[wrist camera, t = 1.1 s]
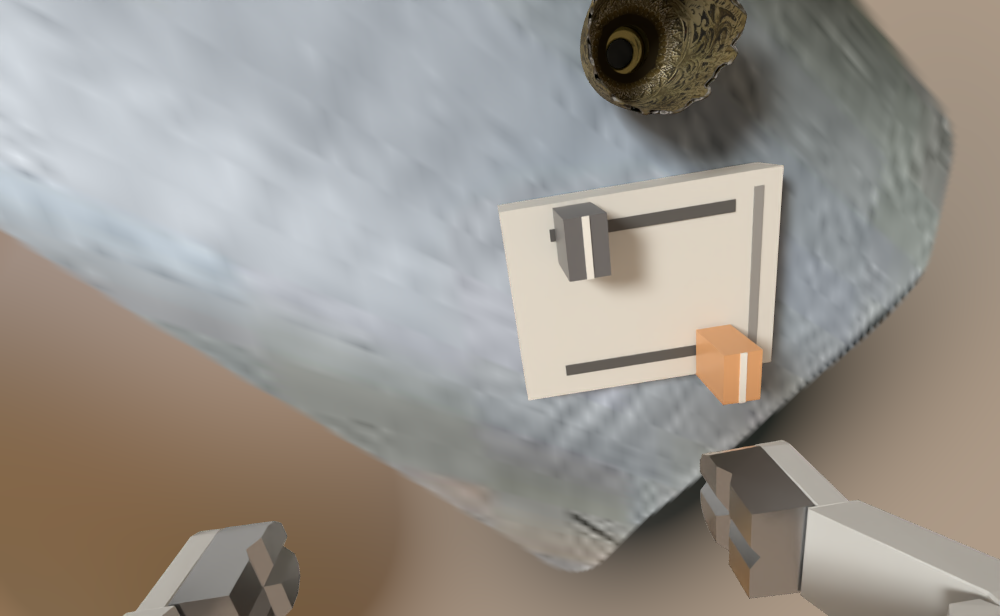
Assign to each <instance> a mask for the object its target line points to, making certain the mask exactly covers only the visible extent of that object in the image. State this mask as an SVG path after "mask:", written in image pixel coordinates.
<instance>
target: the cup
mask: <svg viewBox="0 0 1000 616" xmlns="http://www.w3.org/2000/svg"><path fill="white" fill-rule="evenodd" d="M746 18H747V14H746V11H745V10H744V8H743V6H742V5H741V4H740V3H739V2H738V1H737V0H592V3H591V5H590V8H589V10H588V13H587V15H586V18H585V21H584V25H583V29H582V34H581V43H580V53H581V61H582V66H583V69H584V72H585V75H586V77H587V79H588V81H589V83H590V84H591V86H592V87H593V88H594V89H595V91H596V92H597V93H598V94H599V95H600V96H602V97H603V98H604V99H606V100H607V101H609V102H611V103H612V104H614V105H617V106H619V107H622V108H625V109H628V110H632V111H635V112H638V113H640V114H643V115H649V114H675V113H679V112H681V111H683V110H685V109H686V108H687V107H688V106H689V105H691V104H692V103H694V102H698V101H701V100H703V99H704V98H706V97H708V96H709V95H710V93H711V88H710V86H709V85H710V83H711V82H713V81H714V80H715V79H716V78H717V74H718V73H719V71H720V70H721V68H723V67H725V66H726V65H731V64H732V62H733V61H734V59H735V58H736V56H737V54H738V49H737V48H736V46H735V44H736V42H737V41H738V39H739V38H740V36H741V35H742V32H743V29H744V26H745V23H746ZM617 39H624V40H626V41H628V42H629V43H630V45H631V47H632V51H633V54H632V58H631V61H630V62H629V64H628V65H627V66H625V67H623V68H614V67H612V66H611V65H610V64H609V62H608V60H607V50H608V47H609V46H610V44H611V43H612V42H613V41H615V40H617Z"/></svg>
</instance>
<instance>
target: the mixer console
mask: <svg viewBox="0 0 1000 616" xmlns="http://www.w3.org/2000/svg"><path fill="white" fill-rule="evenodd" d="M783 166H784V165H776V164H768V163H760V162H755V163H749V164H743V165H737V166H731V167H725V168H718V169H712V170H706V171H700V172H694V173H688V174H682V175H676V176H670V177H664V178H658V179H652V180H646V181H640V182H634V183H628V184H622V185H616V186H610V187H604V188H598V189H592V190H586V191H580V192H574V193H568V194H562V195H556V196H550V197H543V198H537V199H531V200H525V201H519V202H513V203H507V204H501V205H498V212H499V218H500V224H501V231H502V237H503V244H504V250H505V256H506V263H507V269H508V275H509V282H510V288H511V295H512V301H513V307H514V314H515V320H516V326H517V333H518V339H519V345H520V352H521V358H522V365H523V371H524V377H525V383H526V389H527V394H528V399H529V400H534V399H540V398H546V397H553V396H559V395H565V394H572V393H578V392H584V391H591V390H597V389H603V388H609V387H616V386H622V385H628V384H635V383H641V382H647V381H654V380H660V379H666V378H673V377H679V376H685V375H691V374H696V330H698V329H704V328H710V327H716V326H723V325H729V324H731V325H732V326H733V327H734V328H736V329H737V330H738V331H740V332H741V333H742V334H743V335H745V336H746V337H747V338H749V339H750V340H751V341H752V342H754V343H755V344H756V345H758V346H759V347H760V348H761V349H763V357H762V363H767V362H771V353H772V337H773V322H774V306H775V291H776V275H777V260H778V244H779V229H780V213H781V197H782V182H783ZM586 202H591V203H593V204H595V205H596V206H598V207H599V208H601V209H602V210H604V211H605V212H607V221H608V235H609V249H610V263H611V275H610V276H604V277H598V278H594V279H589V280H587V279H585V280H579V281H573V282H569V280H568V278H567V277H566V275H565V273H564V271H563V270H562V268H561V266H560V265H559V263H558V254H557V245H556V236H555V228H554V219H553V210H552V208H556V207H562V206H568V205H574V204H580V203H586Z"/></svg>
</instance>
